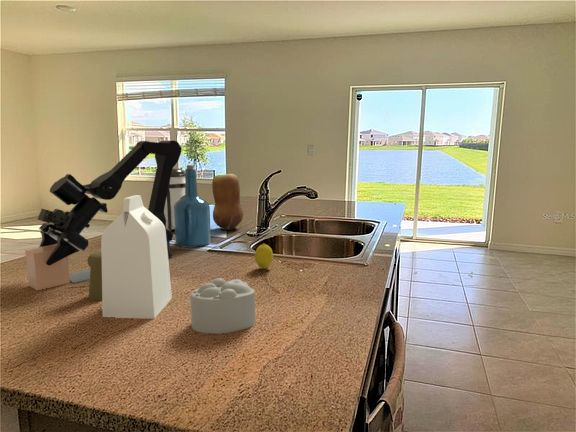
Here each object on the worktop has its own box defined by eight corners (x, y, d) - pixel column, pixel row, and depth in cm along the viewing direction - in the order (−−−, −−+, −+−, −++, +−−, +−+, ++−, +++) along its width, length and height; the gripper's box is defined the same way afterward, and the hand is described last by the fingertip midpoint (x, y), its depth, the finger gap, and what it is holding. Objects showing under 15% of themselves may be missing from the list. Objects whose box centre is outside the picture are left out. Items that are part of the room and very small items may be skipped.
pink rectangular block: (60, 278, 114) (57, 243, 112) (70, 282, 110) (66, 247, 108) (29, 285, 108) (24, 249, 106) (37, 290, 104) (33, 253, 102)
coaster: (98, 267, 123) (98, 266, 123) (113, 273, 118) (113, 272, 118) (60, 276, 115) (60, 275, 115) (74, 283, 109) (74, 282, 109)
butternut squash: (218, 225, 188) (217, 172, 184) (246, 226, 186) (245, 172, 182) (208, 232, 174) (207, 174, 170) (238, 233, 173) (237, 175, 168)
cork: (88, 301, 97) (85, 257, 95) (88, 293, 102) (84, 251, 100) (116, 297, 99) (112, 254, 98) (114, 289, 105) (111, 249, 103)
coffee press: (188, 234, 171) (185, 163, 165) (150, 233, 171) (146, 162, 166) (197, 225, 188) (195, 161, 182) (163, 225, 188) (160, 161, 183)
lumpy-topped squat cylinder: (259, 326, 84) (259, 287, 83) (197, 338, 79) (196, 297, 77) (243, 308, 93) (242, 272, 92) (186, 318, 88) (185, 280, 86)
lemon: (276, 267, 124) (276, 242, 123) (267, 272, 119) (267, 246, 118) (260, 265, 127) (260, 240, 125) (251, 270, 122) (251, 244, 120)
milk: (126, 297, 100) (118, 193, 95) (171, 298, 99) (166, 193, 95) (102, 317, 88) (93, 200, 83) (154, 318, 88) (147, 200, 83)
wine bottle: (216, 245, 152) (214, 165, 147) (182, 250, 145) (178, 166, 140) (202, 238, 163) (199, 164, 158) (170, 242, 156) (166, 164, 151)
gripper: (43, 194, 113) (2, 239, 107) (72, 200, 102) (27, 251, 95) (75, 218, 121) (38, 261, 114) (105, 226, 109) (65, 274, 103)
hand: (41, 261), depth 106 cm, fingers open, 8 cm apart
